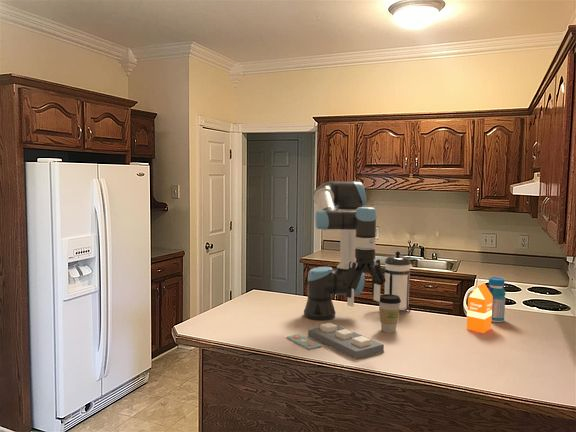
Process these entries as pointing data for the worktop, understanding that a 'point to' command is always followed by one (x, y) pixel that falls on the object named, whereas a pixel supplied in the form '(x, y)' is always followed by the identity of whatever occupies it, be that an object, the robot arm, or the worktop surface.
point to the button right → (361, 341)
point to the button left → (328, 327)
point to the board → (345, 343)
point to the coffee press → (397, 278)
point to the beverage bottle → (497, 298)
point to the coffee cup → (389, 312)
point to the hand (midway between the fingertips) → (363, 303)
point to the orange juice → (479, 309)
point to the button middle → (344, 334)
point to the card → (303, 342)
